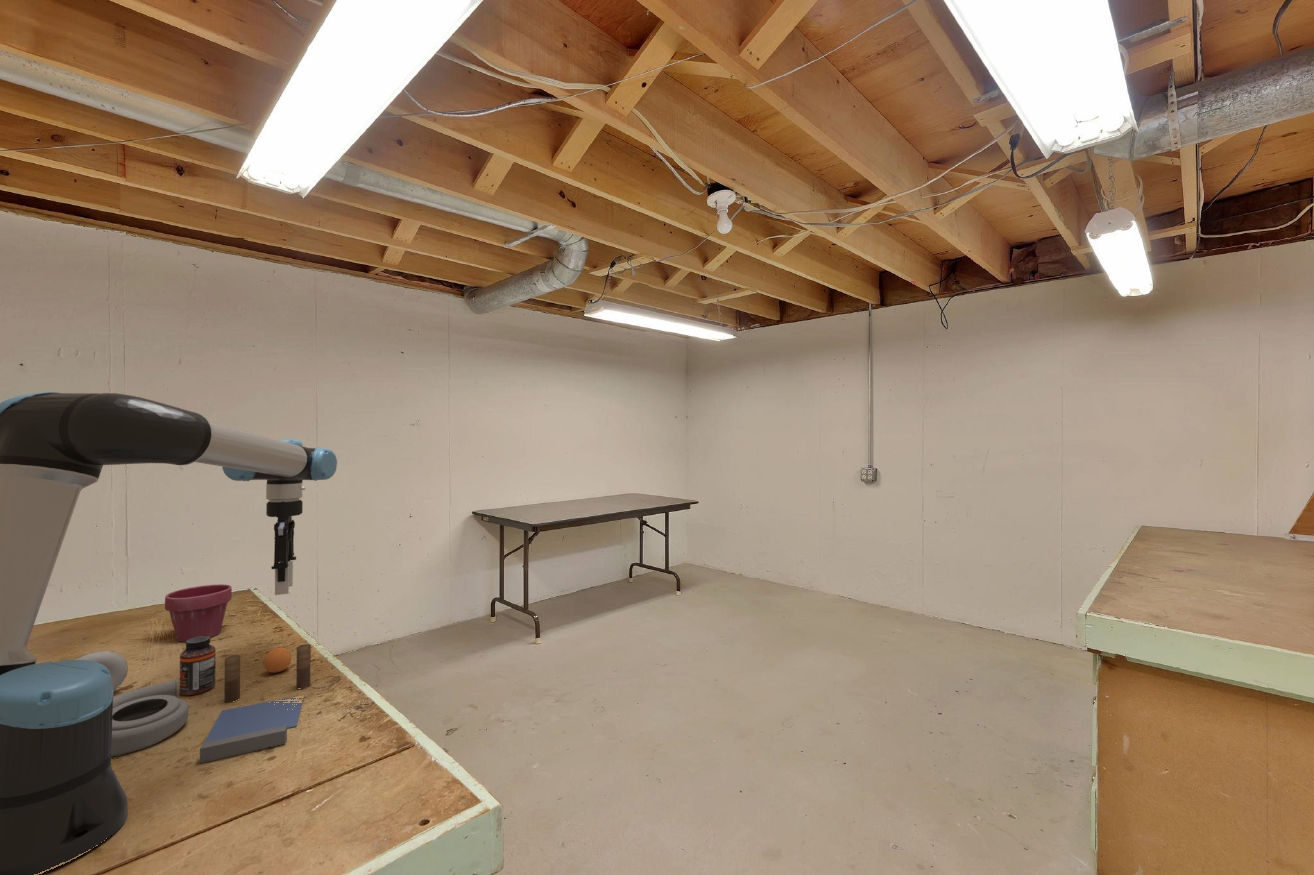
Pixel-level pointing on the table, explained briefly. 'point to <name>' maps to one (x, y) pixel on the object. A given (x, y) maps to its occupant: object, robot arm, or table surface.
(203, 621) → the plant pot
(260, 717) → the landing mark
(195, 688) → the supplement bottle
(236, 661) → the post left
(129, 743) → the turbocharger housing
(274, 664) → the orange egg
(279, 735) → the stopper
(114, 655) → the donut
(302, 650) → the post right
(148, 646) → the table surface
